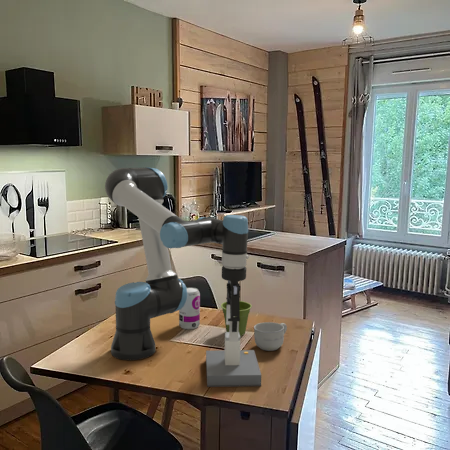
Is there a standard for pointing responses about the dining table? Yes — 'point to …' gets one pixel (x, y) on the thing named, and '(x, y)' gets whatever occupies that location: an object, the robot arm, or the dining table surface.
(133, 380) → the dining table surface
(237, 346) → the plug
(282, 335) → the teacup
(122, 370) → the dining table surface
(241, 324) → the plant pot
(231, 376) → the plate
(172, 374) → the dining table surface
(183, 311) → the supplement can
